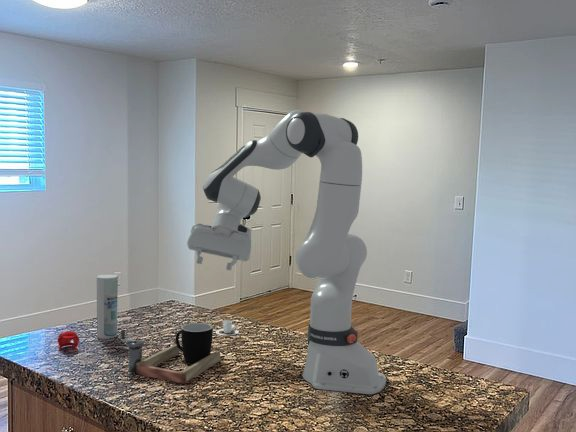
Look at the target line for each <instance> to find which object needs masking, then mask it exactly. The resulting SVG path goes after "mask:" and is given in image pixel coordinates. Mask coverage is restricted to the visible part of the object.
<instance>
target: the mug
mask: <svg viewBox="0 0 576 432" xmlns="http://www.w3.org/2000/svg"><path fill="white" fill-rule="evenodd" d="M180 328H181V329H180V330H179V331H177V333H176V334H175V344H176V345H177V347H178V348H179V351H181V352H182V355H183V358H184V359H183V360H184V361H185V363H186V364H189V365H191V364H192V365H193V364H195V363H197V362H198V361H200V360H202V359H203V358H205V357H207V356H209V355H210V354H211V352H212V345H213V344H212V343H213V331H214V329H213V325H211V324H209V323H205V322H191V323H186V324H183V325H182V326H181V327H180ZM180 335H181V336H180ZM180 337H181V344H180V340H179V338H180ZM192 365H191V366H192Z"/></svg>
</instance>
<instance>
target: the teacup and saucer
mask: <svg viewBox="0 0 576 432" xmlns="http://www.w3.org/2000/svg"><path fill="white" fill-rule="evenodd" d="M222 326H223V327H222V328H220V329H217V330H216V331H215V334H217V335H218V336H225V337H226V336H227V337H228V336H230V337H231V336H235V335H238V334H239V330H238V329H236V328H237V327H236V325H235V324H233V321H232V320H224V321H222ZM222 331H223V333H225V334H222V333H220V332H222ZM232 331H233V332H234V333H232V334H231V332H232Z"/></svg>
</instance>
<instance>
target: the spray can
mask: <svg viewBox="0 0 576 432" xmlns="http://www.w3.org/2000/svg"><path fill="white" fill-rule="evenodd" d="M118 280H119V278H118V275H117V274H99V275H97V276H96V336H97V339H100V340H110V338H111V339H115V338H116V337H118V292H119V291H118V288H119V287H118V282H119V281H118ZM114 337H115V338H114Z"/></svg>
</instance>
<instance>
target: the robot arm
mask: <svg viewBox="0 0 576 432" xmlns="http://www.w3.org/2000/svg"><path fill="white" fill-rule="evenodd" d="M358 141H359V130H358V129H357V127H356V125H355V124H354V123H353V122H352V121H350V120H348V119H346V118H344V117H336V116H333V115H330V114H327V113H321V112H320V113H318V112H309V111H304V110H300V109H295V110H292V111H290V112H288V113H287V114H286V115H285V116H283V118H282V119H281V120H280V121H278V123H276V125H275V126H273V129H272V130H271V131H270V132H269V133H268V134H267V135H265V136H264V137H262V138H259V139H256V140H249V141H247V143H245V144H244V145H243V146H241V147H240V148H239V149H238V150H237V151H236V152H235V153H234V154H233V155H232V156H231V155H230V157H229V158H228V159H227V160H226V161H225V162H223V164H222V165H221V166H219V167H218V168H216V169H214V171H212V172H211V173H210V174H209V175H208V176H207V177H206V179H205V181H204V184H203V186H202V189H203V192H204V194H205V197H206V199H207V200H209V201H212V202H214V203H217V204H218V206H217V213H216V214H215V216H214V218H213V222H212V223H211V224H212V225H208V224H204V223H197V224H194V225H192V227H191V230H190V235H189V237H188V238H187V243H186V245H187V247H188V249H189V250H191V251H195V252H196V256H197V258H196V264H199V265H202V263H203V261H204V257H203V256H201V255H202V253H204V254H208V255H214V256H218V257H221V258H222V257H223V258H228V259H232V260H231V262H227V264H226V268H225V269H226V271H232V268H233V266H234V265H236V264H237V263H238V261H241V262H248V261H249V260H250V258H251V252H252V230H251V228H249V227H247V226H246V225H244V224H242V223H241V221H242V219H243V218H244V219H245V218H248V217H250V216H252V215H254V214H255V213H256V212H257V211H258V208H259V206H260V203H261V199H262V198H261V192H260V191H259V189H258V188H256V187H254V185H251V184H249V183H247V182H244V181H243V180H241V179H239V178H237V177H235V175H236V174H237V173H239V172H240V171H241V170H242V169H244V168H245V167H252V166H253V167H259V168H260V167H261V168H265V169H269V170H275V171H277V170H279V171H280V170H285V169H287V168H289V167H291V166H292V165H293V164H295V162H297V160H298V159H299V158H300V157H301V155H302V154H303V155H305V156H307V157H309V158H314V157H317V158H318V160H319V161H320V166H321V167H320V176H319V183H318V184H319V185H318V190H317V191H318V194H317V199H316V208H315V212H314V217H313V219H312V222H311V225H310V227H309V230H308V232H307V235H306V237H305V238H304V240H303V242H301V244H300V245H299V246H298V247H297V249H296V253H295V263H296V264H295V265H296V267H297V269H298V270H299V272H300V273H301V274H302V275H303V276H305V277H307V278H309V279H318V282H317V285H316V288H315V289H314V291H313V292H312V295H311V297H310V309H309V310H310V313H309V324H308V327H307V328H308V329H307V346H308V347H307V348H308V349H307V355H306V360H305V365H304V369H303V371H302V374H301V375H302V379H304V380H305V381H306V382H308V383H309V384H311V385H312V387H313V388H314V389H316V390H323V391H334V392H343V393H353V394H365V395H374V394H377V393H379V392H381V391H382V390H383V389H384V388H385V387H386V384H387V377H386V376H385V373H382V372H380V371H379V367H378V363H377V359H376V357H375V355H374V354H373V353H371V352H370V351H369V350H368V349H367V348H366V347H364V346H363V345H362V344H361V343H360V342H359V341H358V338H359V329H355V328H354V327H353V326H352V310H353V309H352V307H353V304H352V303H353V297H354V292H355V288H356V284H357V281H358V276H359V273H360V270H361V267H362V266H363V264H364V262H365V261H366V259H367V255H368V251H367V250H368V249H367V246H366V244H365V242H364V240H363V239H362V238H361V237H359V236H357V235H355V234H351V233H350V229H351V227H352V225H353V223H354V221H355V220H356V219H357V217H358V215H359V208H360V201H361V200H360V199H361V193H362V191H361V190H362V181H363V157H362V151H361V149H360V147H359V146H358Z"/></svg>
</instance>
